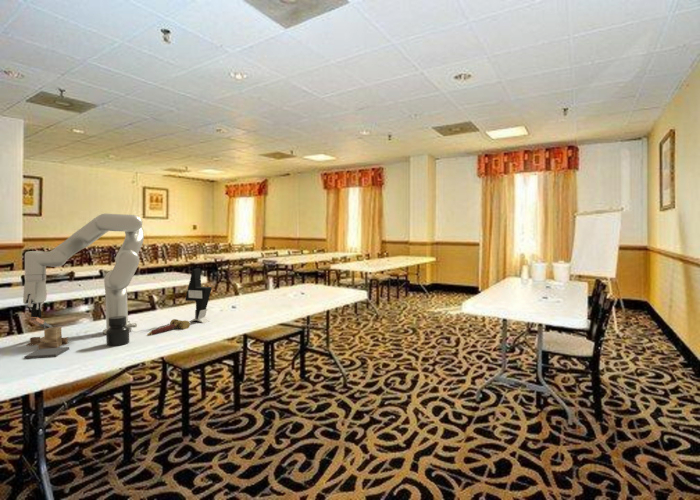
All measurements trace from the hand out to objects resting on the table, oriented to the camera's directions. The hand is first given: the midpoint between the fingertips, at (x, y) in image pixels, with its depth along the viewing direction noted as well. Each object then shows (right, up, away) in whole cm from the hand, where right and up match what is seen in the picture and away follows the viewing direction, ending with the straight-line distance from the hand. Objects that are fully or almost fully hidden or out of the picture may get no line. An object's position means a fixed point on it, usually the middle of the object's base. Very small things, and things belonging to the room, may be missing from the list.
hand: (36, 318), depth 178 cm
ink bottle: (+39, -11, -3) cm, 41 cm away
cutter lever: (0, -4, +3) cm, 5 cm away
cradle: (+12, -11, -5) cm, 17 cm away
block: (+12, -12, -5) cm, 18 cm away
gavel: (+50, -11, +21) cm, 55 cm away
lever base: (-1, -11, +5) cm, 12 cm away
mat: (+19, -12, -17) cm, 28 cm away
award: (+58, -10, +43) cm, 73 cm away
